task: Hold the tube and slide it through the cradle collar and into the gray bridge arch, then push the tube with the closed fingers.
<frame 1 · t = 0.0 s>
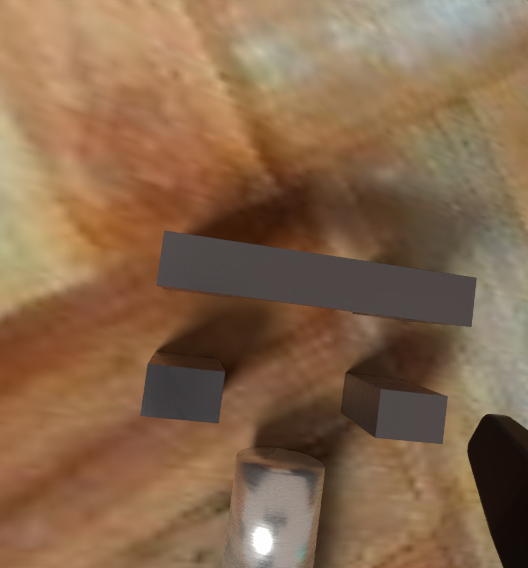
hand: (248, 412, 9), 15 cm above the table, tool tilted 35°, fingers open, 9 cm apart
cradle collar: (280, 386, 24), on the table
gray bridge arch: (293, 285, 24), on the table
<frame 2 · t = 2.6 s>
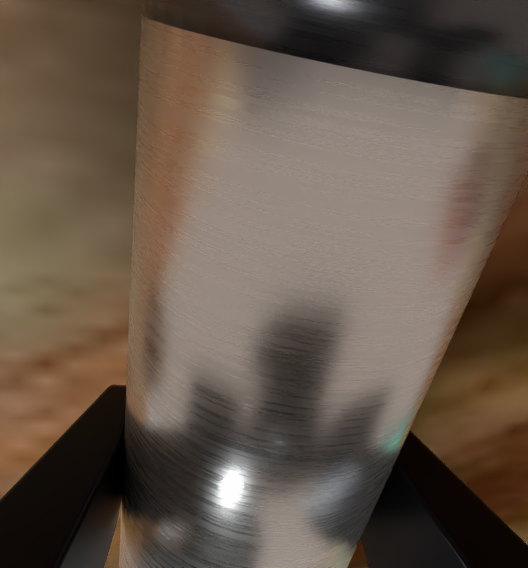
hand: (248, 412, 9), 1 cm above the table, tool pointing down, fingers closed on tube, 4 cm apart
tube: (281, 179, 8), on the table, touching gripper
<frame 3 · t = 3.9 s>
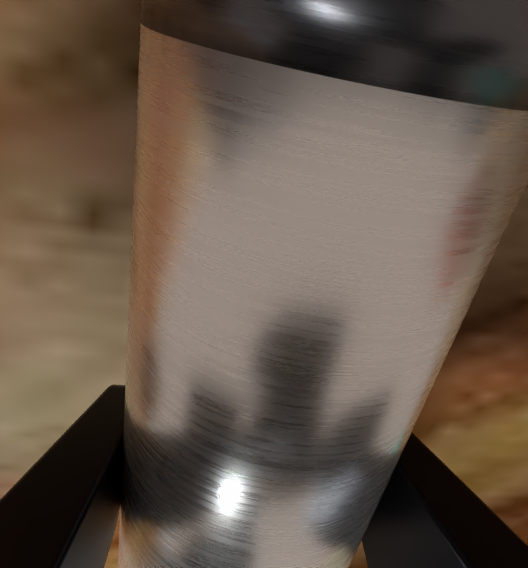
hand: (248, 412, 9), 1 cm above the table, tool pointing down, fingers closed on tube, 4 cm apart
tube: (282, 184, 7), on the table, touching gripper
when the fingers open (1 cm above the table, at t = 5.1 s): tube stays where it is, on the table.
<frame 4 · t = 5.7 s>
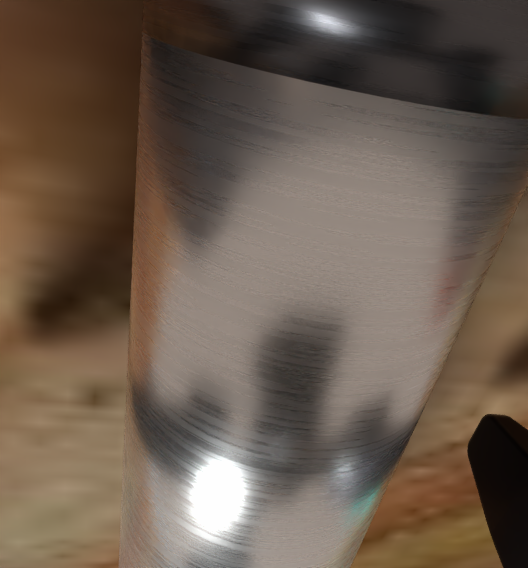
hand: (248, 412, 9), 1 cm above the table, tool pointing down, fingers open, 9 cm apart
tube: (281, 188, 8), on the table
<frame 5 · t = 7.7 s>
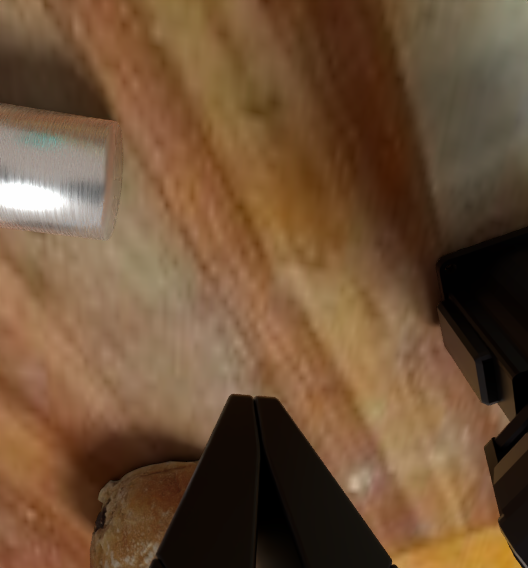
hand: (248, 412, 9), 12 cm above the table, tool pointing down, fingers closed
bread roll: (187, 504, 29), on the table
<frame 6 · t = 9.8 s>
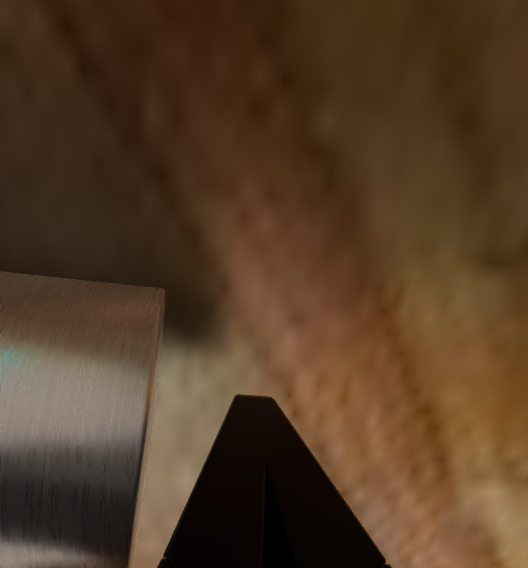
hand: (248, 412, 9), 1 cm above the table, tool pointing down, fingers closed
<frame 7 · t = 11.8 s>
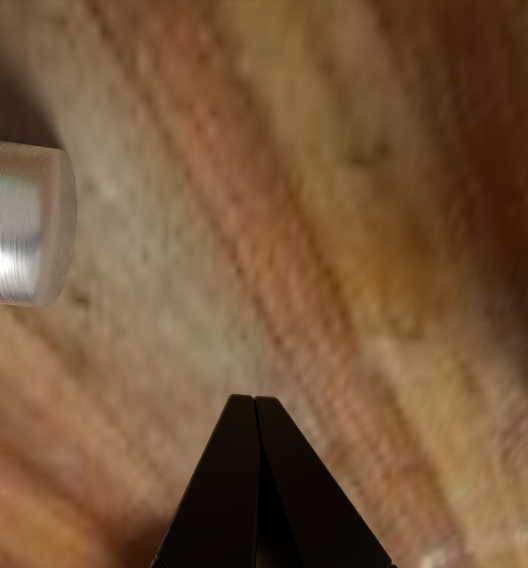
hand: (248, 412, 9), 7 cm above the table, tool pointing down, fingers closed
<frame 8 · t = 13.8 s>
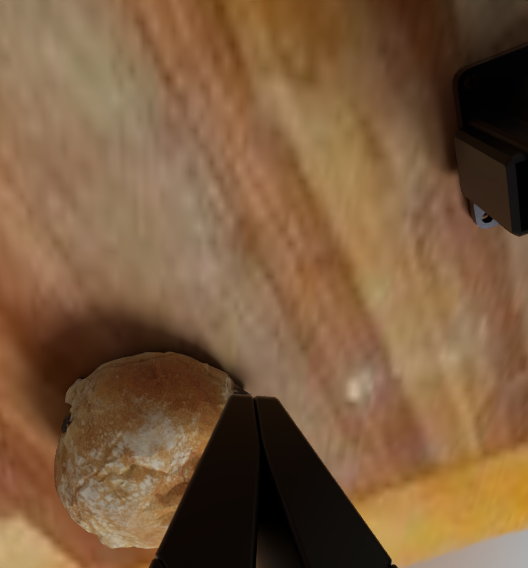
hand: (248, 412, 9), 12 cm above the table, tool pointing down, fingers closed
bread roll: (169, 414, 25), on the table
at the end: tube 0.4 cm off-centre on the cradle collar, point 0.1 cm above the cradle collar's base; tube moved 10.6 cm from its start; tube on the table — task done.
